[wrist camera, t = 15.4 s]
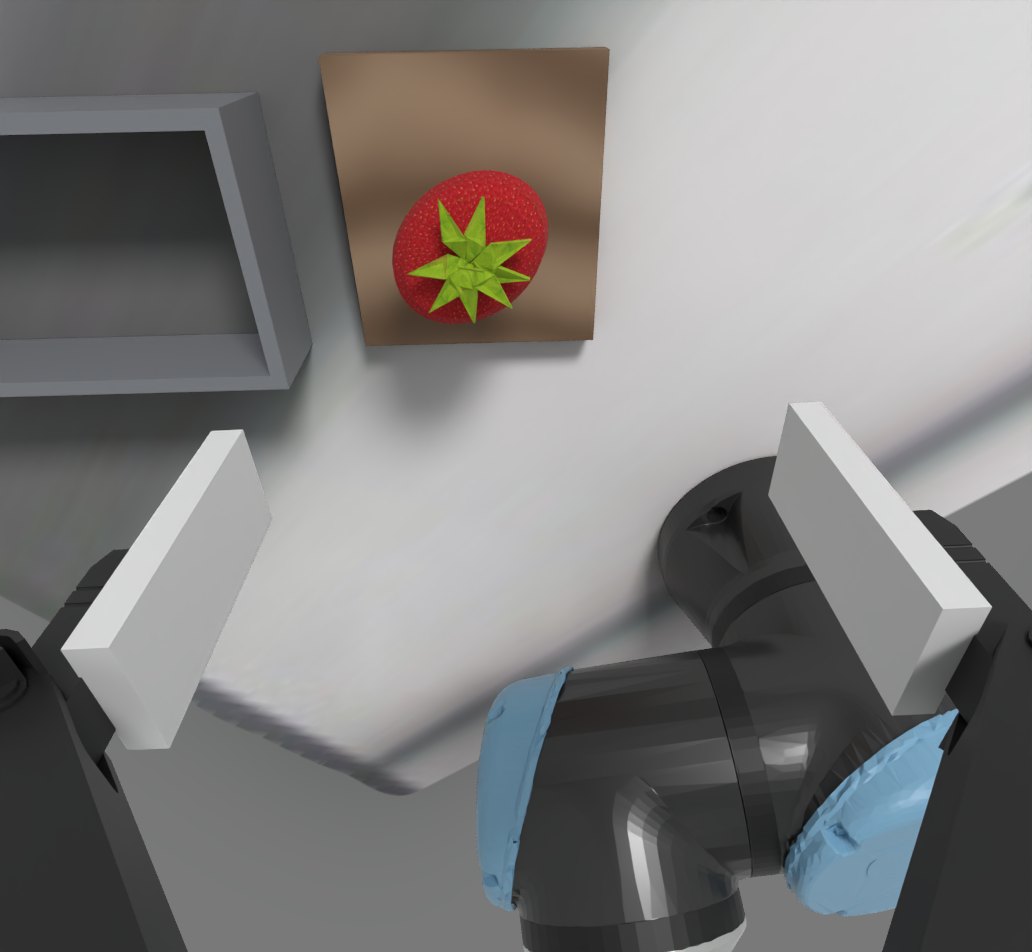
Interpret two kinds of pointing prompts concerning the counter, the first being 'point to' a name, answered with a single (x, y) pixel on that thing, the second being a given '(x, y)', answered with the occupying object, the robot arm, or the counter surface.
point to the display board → (464, 148)
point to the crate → (256, 237)
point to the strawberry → (470, 246)
